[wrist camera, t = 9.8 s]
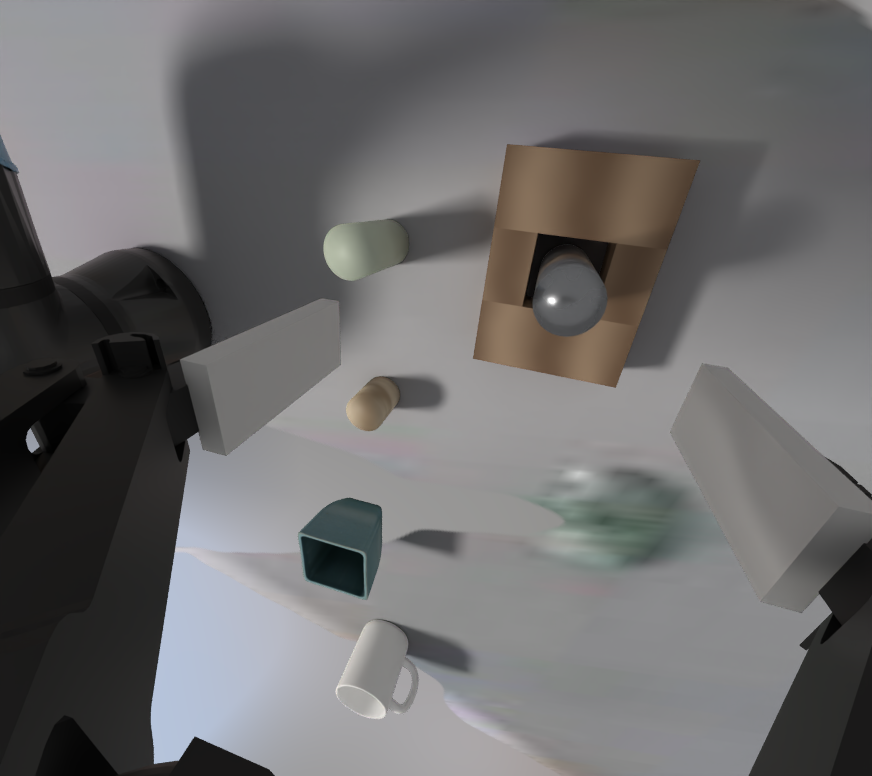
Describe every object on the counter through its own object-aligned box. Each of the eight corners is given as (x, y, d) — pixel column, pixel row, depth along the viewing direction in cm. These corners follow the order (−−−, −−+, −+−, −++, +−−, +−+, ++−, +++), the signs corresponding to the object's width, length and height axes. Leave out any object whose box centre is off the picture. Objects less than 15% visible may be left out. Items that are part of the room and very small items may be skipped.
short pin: (367, 403, 43) (346, 425, 39) (367, 373, 42) (345, 392, 37) (399, 411, 43) (381, 435, 38) (400, 380, 41) (382, 401, 36)
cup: (375, 611, 62) (345, 678, 53) (436, 649, 62) (417, 723, 53) (358, 631, 66) (328, 696, 57) (416, 667, 66) (394, 737, 57)
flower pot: (395, 498, 49) (365, 553, 41) (394, 544, 53) (367, 602, 45) (335, 482, 51) (296, 532, 43) (339, 527, 55) (303, 580, 47)
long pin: (534, 289, 33) (526, 329, 22) (545, 241, 31) (541, 261, 21) (581, 296, 32) (595, 342, 22) (595, 247, 30) (617, 272, 20)
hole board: (480, 343, 36) (473, 358, 33) (512, 151, 29) (507, 144, 25) (609, 368, 34) (615, 387, 30) (681, 165, 26) (700, 160, 23)
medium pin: (368, 262, 36) (324, 276, 29) (369, 216, 34) (322, 220, 27) (407, 268, 35) (371, 284, 28) (410, 222, 33) (372, 227, 26)
